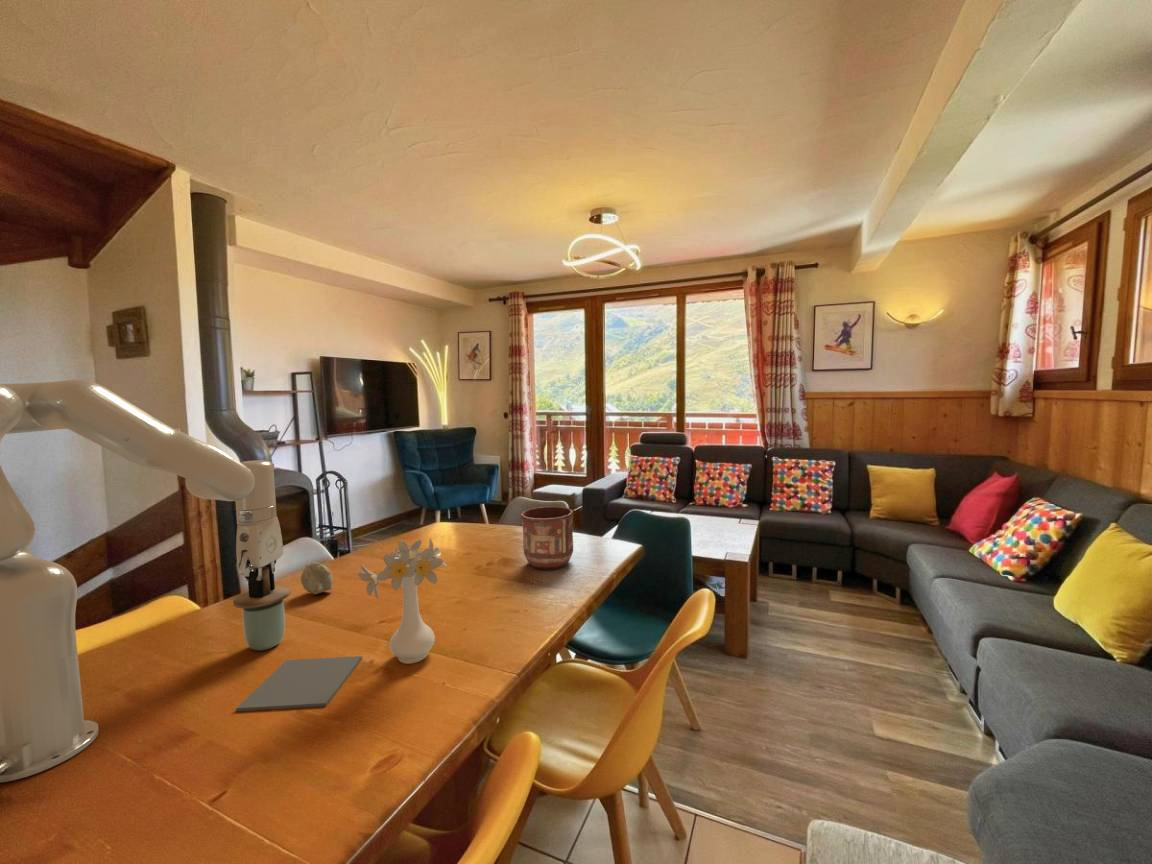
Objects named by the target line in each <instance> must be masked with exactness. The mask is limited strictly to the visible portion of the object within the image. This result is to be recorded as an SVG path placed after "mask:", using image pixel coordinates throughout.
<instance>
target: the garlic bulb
mask: <svg viewBox="0 0 1152 864" xmlns="http://www.w3.org/2000/svg"><path fill="white" fill-rule="evenodd" d="M300 583H301V585H302V588H303V589H304V590H305V591H306V592H308V593H311V594H313V595H317V594H322V593H323V592H326V591H330V590H333V589H334V588H335V587H334V586H333V584H334V578H333V572H332V571H331V569H330V568H329V567H328V566H326V565H324V564H321V562H315V561H312V562H311V563H308V564H305V568H304V570H303V571H302V572H301V576H300Z"/></svg>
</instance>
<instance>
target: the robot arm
mask: <svg viewBox="0 0 1152 864" xmlns="http://www.w3.org/2000/svg"><path fill="white" fill-rule="evenodd" d="M53 430H54V431H55V430H70V431H71V432H73V433H75V434H76V435H79V436H81V437H83V438H85V439H87V440H88V441H91V442H93V443H95V444H97V445H99V446H101V447H102V448H105V449H106V450H108V451H111V452H112V453H113V454H116V455H117V456H119V457H121V458H123V459H124V460H125V461H126V460H127V461H129V462H131V463H133V464H136V465H139V466H141V467H146V468H149V469H153V470H157V471H160V472H161V471H162V472H167V473H169V474H173V475H176V476H179V477H182V478H184V479H185V487H186V489H187V491H188V492H189V494H191V495H193V496H194V497H196V498H199V499H203V500H211V501H212V500H213V501H225V502H235V511H236V512H235V514H236V525H237V526H236V527H237V528H236V540H235V541H236V543H235V544H236V545H235V549H236V550H235V552H236V555H235V556H236V562H237V563H236V564H237V568H239V569H238V576H240V577H243V578H244V579H245V581H246V582H247V585H248V591H249V597H250V598H257V597H264V596H265V587H264V579H262V567H269V578H270V591H273V590H274V589H275V586H276V584H275V571H276V564H277V561H278V560H279V559H280V558H281V557H283V555H284V544H283V536H282V530H281V525H280V521H279V518H278V516H277V514H278V513H277V504H276V503H277V499H276V488H275V487H276V486H275V473H274V472H275V471H274V465H273V463H272V462H271V460H270V461H269V460H265V459H264V460H263V459H259V460H258V459H255V460H247V461H239V460H237V459H236V458H234V457H233V456H230V455H229V454H227V453H226V452H224V451H222V450H221V449H219V448H217V447H215V446H213V445H211V444H209V443H206V442H205V441H202V440H199V439H198V438H195V437H193V436H191V435H189V434H187V433H185V432H183V431H181V430H178V429H176V428H174V427H171V426H169V425H168V424H166V423H164V422H162V421H161V420H159V419H157V418H156V417H154V416H153V415H151V414H149V413H147V411H145V410H143V409H141V408H139V407H138V406H137V405H135V404H133V403H131V402H130V401H128V400H126V399H125V398H123V397H122V396H121V395H118V394H117V393H115V392H114V391H112V390H110V389H108V388H107V387H105V386H103V385H102V384H99V383H97V382H94V381H90V380H86V379H68V380H59V381H48V382H29V383H27V382H25V383H24V382H23V383H22V382H21V383H0V442H1V441H2V439H3V438H4V437H5V435H8V434H12V435H13V434H21V433H23V434H25V433H33V432H35V433H36V432H45V431H53ZM35 531H36V528H35V523H34V520H33V518H32V517H31V515H30V513H29V512H28V511H27V509H26V508H25V506H24V505H23V504H22V502H21V500H20V499H19V497H18V495H17V493H16V491H14V489H13V487H12V485H11V484H10V482H9V480H8V478H7V477H6V474H5V472H4V471H3V469H2V466H1V465H0V784H1V783H8V782H13V781H17V780H20V779H23V778H28V777H31V776H33V775H36V774H39V773H41V772H44V771H47V770H48V769H51V768H53V767H55V766H58V765H59V764H61V763H64V762H66V761H67V760H69V759H71V758H73V757H75V756H76V755H77V754H79V753H81V752H82V751H84V750H85V749H86V748H87V747H88V746H90V745H91V744H92V743H93V742H94V740H96V738H97V737H98V735H99V724H98V723H97V722H95V721H94V720H93V721H92V720H90V719H89V720H88V719H87V720H86V719H85V718H84V708H83V697H82V685H81V676H80V675H81V674H80V666H79V664H80V662H79V654H78V644H77V634H76V612H77V611H76V610H77V600H78V585H77V581H76V579H75V577H74V575H73V574H72V573H71V571H70V570H69V569H67V567H64V566H63V565H61V564H60V563H56V562H54V561H52V560H51V561H50V560H47V559H43V558H39V557H35V556H34V554H33V552H32V550H31V549H30V547H29V546H30V544H31V543H32V541H33V539H34V537H35V533H36V532H35ZM253 570H256V573H255V572H254V571H253Z"/></svg>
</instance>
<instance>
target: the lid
mask: <svg viewBox="0 0 1152 864" xmlns="http://www.w3.org/2000/svg"><path fill="white" fill-rule="evenodd" d="M252 571H254V572H255V573H256V570H252ZM262 579H264V587H265V596H264V597H257V598H250V597H249V590H248V591H245V592H243V593H241V594H239V595H237V596H236V597H234V598H233V601H232V603H233V607H235V608H238V609H243V608H255V607H261V606H265V605H269V604H273V603H276V602H278V601H281V600H283V601H284V599H286V598H288V597H290V596H291V594H292V589H291V587H290V586H288V585H279V584H278V585H276V584H275V589H274V590H273V591H270V578H269V567H262Z"/></svg>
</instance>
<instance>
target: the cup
mask: <svg viewBox="0 0 1152 864" xmlns="http://www.w3.org/2000/svg"><path fill="white" fill-rule="evenodd" d="M285 612H286V611H285V602H284V599H283V600H281V601H278V602H276V603H273V604H269V605H265V606H261V607H255V608H242V623H243V624H242V626H243V633H244V639H245V641H246V645H247V646H248V647H249V648H250V649H251V650H253V651H257V652H258V651H266V650H270V649H272V648H273V647H276V646H277V645H279V644H280V642H281V641H282V640H283V638H284V635H285V632H286V631H285V630H286V613H285Z"/></svg>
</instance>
